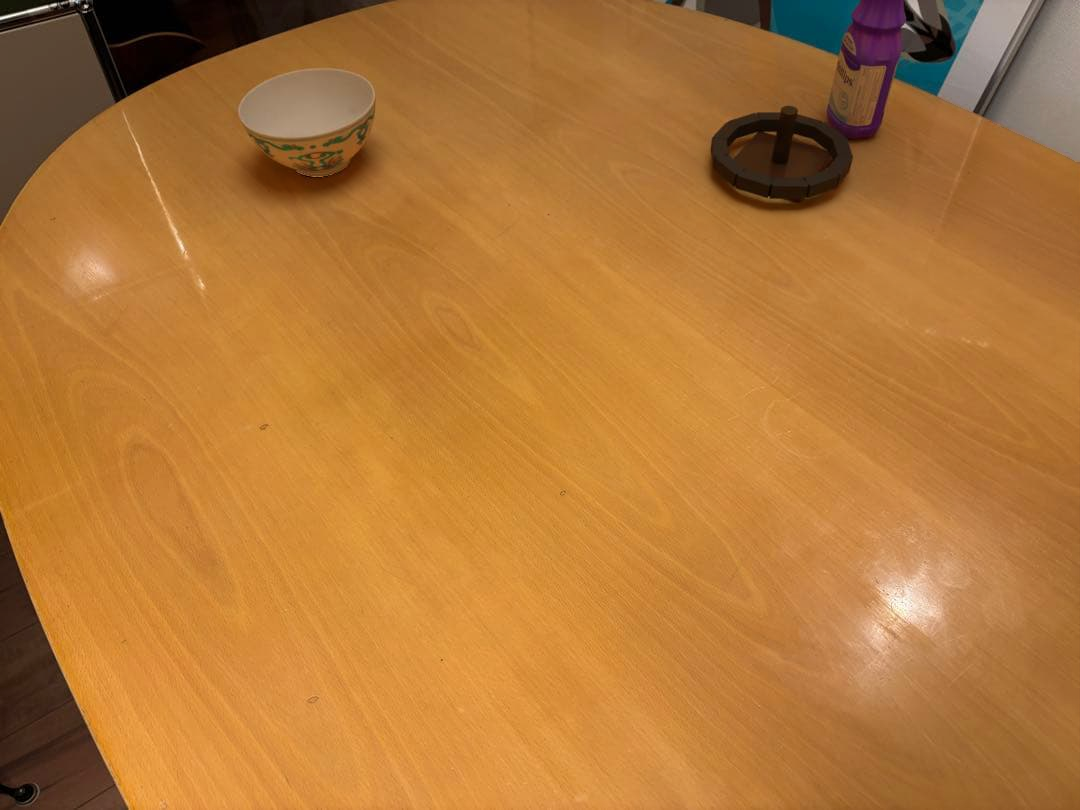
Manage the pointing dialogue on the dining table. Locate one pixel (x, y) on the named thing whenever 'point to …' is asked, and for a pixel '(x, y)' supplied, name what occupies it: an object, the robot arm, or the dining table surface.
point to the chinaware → (310, 118)
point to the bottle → (866, 68)
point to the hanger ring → (781, 185)
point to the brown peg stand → (783, 152)
